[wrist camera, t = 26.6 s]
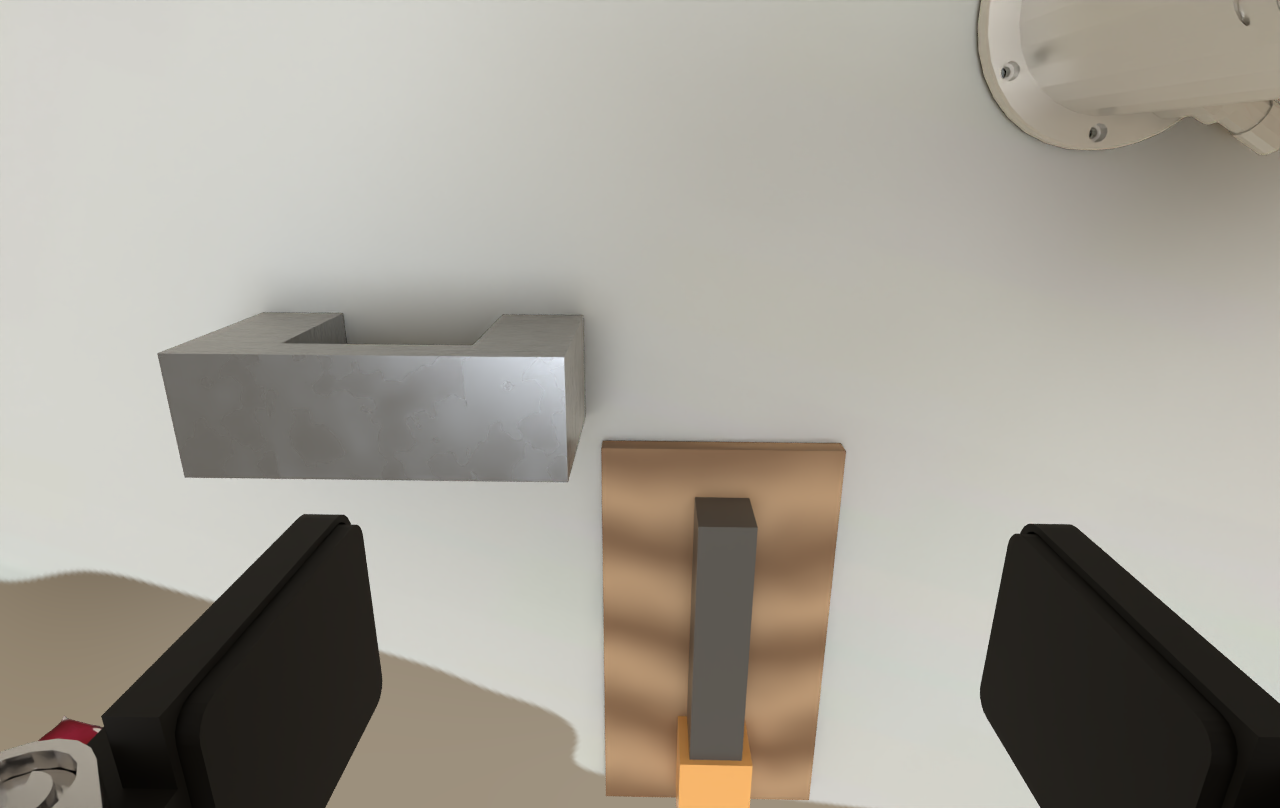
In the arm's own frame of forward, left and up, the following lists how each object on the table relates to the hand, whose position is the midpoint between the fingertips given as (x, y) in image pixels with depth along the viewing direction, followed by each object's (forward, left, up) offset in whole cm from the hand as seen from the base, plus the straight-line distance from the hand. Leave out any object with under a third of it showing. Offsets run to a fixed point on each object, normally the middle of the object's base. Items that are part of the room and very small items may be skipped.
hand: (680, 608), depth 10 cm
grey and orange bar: (-15, +18, -29) cm, 38 cm away
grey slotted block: (+9, +11, -30) cm, 33 cm away
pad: (-15, +18, -30) cm, 38 cm away
